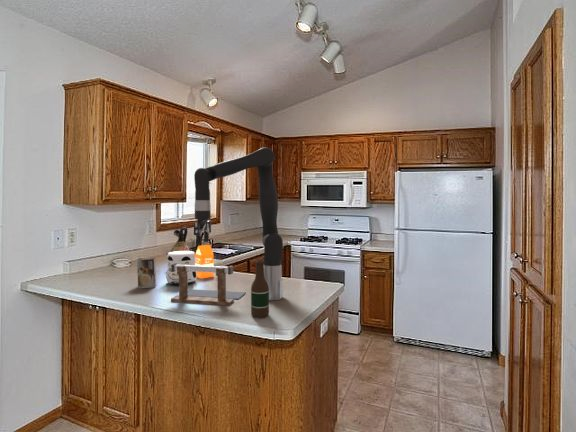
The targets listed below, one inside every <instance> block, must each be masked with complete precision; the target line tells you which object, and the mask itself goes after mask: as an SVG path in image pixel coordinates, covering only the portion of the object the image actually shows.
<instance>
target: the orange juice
mask: <svg viewBox="0 0 576 432" xmlns="http://www.w3.org/2000/svg"><path fill="white" fill-rule="evenodd" d="M214 263H215V261H214V252H213V249H212V246H211V244H203V245H198V246H197V249H196V251H195V265H201V266H215V265H214ZM214 274H215V273H213V272H197V277H196V278H198V279H207V278H210V277H211V278H212V277H214Z"/></svg>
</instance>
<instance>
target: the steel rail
mask: <svg viewBox="0 0 576 432" xmlns="http://www.w3.org/2000/svg"><path fill="white" fill-rule="evenodd" d="M177 266H184V271H191V272H213V273H214V274H216V268H223V273H226V274H227V275H232V274H234V265H230V266H227V267H225V266H226V265H218V266H217V265H214V266H201V265H178V264H177V263H174V264H171V272H175V271H177Z"/></svg>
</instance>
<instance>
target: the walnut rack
mask: <svg viewBox="0 0 576 432" xmlns="http://www.w3.org/2000/svg"><path fill="white" fill-rule="evenodd" d="M182 265H189V264H182ZM224 266H225V267H228V266H227V265H224ZM187 272H188V271H184V266H177V274H179V285H178V295H175V296H174V297H171V299H170V302H171V303H182V304H183V303H187V304H199V305H200V304H202V305H213V306H214V305H215V306H216V305H218V306H231V305H232V304H233V303H234V302H235V299H228V298H226V291H227V288H226V287H227V285H226V284H227V282H226V281H227V280H226V274H227V273H223V268H216V273H215V276H217V277H216V279H217V291H218V298H212V297H195V296H188V290H189V289H188V284H187Z"/></svg>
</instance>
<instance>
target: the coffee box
mask: <svg viewBox="0 0 576 432" xmlns="http://www.w3.org/2000/svg"><path fill="white" fill-rule="evenodd" d="M136 263H137V265H136V266H137V289H147V288H149V289H150V288H156V286H157V279H156V277H157V275H156V273H157V271H156V257H139V258H137V260H136Z"/></svg>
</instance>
